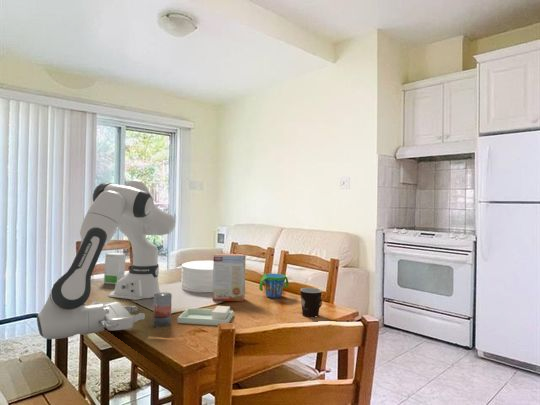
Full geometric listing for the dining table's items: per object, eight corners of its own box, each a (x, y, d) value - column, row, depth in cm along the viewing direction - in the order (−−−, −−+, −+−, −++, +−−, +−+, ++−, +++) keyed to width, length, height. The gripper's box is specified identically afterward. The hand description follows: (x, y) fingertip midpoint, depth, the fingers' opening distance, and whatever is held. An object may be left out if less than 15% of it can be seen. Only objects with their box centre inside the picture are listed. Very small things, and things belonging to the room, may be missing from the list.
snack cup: (282, 292, 184) (283, 272, 184) (293, 297, 174) (294, 276, 174) (254, 295, 177) (255, 274, 177) (264, 300, 167) (264, 278, 167)
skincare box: (103, 283, 192) (104, 253, 192) (110, 280, 198) (111, 252, 198) (118, 284, 190) (119, 254, 190) (125, 281, 197) (126, 253, 197)
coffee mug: (299, 311, 152) (299, 287, 152) (319, 312, 152) (320, 288, 152) (300, 320, 140) (301, 294, 140) (323, 321, 140) (323, 295, 140)
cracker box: (244, 298, 169) (246, 253, 170) (242, 302, 163) (244, 255, 164) (215, 297, 171) (216, 252, 171) (211, 300, 165) (213, 254, 165)
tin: (150, 327, 127) (151, 296, 127) (157, 322, 133) (158, 292, 133) (167, 328, 126) (168, 297, 127) (173, 323, 133) (174, 292, 133)
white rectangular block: (211, 322, 132) (212, 311, 132) (216, 316, 140) (217, 305, 140) (225, 323, 132) (225, 312, 132) (229, 317, 140) (230, 306, 140)
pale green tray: (177, 324, 131) (177, 317, 131) (188, 314, 143) (188, 308, 143) (226, 327, 130) (227, 320, 130) (233, 317, 142) (233, 310, 142)
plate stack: (221, 279, 212) (221, 259, 212) (244, 289, 189) (245, 267, 189) (173, 283, 197) (174, 262, 197) (192, 295, 173) (193, 271, 174)
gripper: (103, 317, 109) (149, 310, 117) (91, 300, 126) (133, 296, 134) (102, 338, 109) (149, 330, 117) (91, 319, 126) (132, 313, 134)
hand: (140, 312), depth 126 cm, fingers open, 8 cm apart
